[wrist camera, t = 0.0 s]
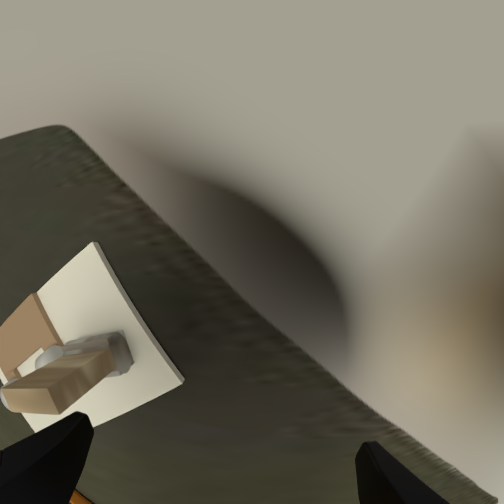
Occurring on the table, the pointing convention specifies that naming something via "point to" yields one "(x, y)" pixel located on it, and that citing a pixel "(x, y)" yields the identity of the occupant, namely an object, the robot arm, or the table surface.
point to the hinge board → (80, 326)
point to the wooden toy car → (70, 374)
